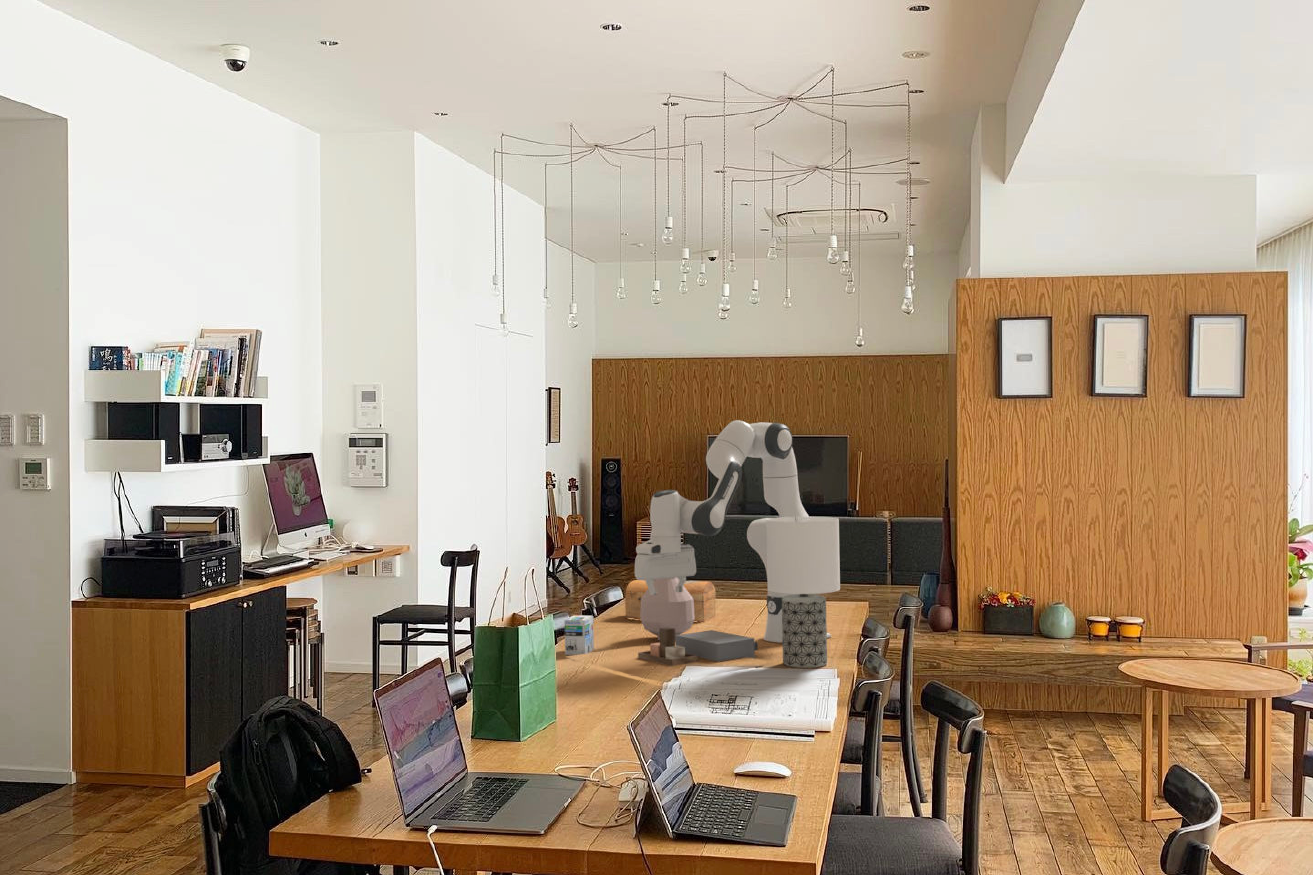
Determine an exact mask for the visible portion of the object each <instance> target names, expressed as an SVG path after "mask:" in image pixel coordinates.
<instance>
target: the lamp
mask: <svg viewBox="0 0 1313 875" xmlns="http://www.w3.org/2000/svg"><path fill="white" fill-rule="evenodd" d="M768 518H769V519H766V529H767V572H766V580H767V591H768V590H769V591H772V592H777V593H788V594H791V595H786V596H785V597H783V598H782V636H783V643H782V664H783V665H784V666H786V667H789V668H794V669H795V668H796V669H815V668H816V669H817V668H822V667H825V666H826V665H827V663H828V641H827V640H828V638H827V633H828V630H827V629H828V628H827V598H826V597H824V596H823V595H821V594H828V593H834V592H838V591H840V590H841V573H840V572H841V570H840V567H841V565H840V564H841V563H840V562H841V560H840V522H839V520H840V519H839V518H838V517H830V516H809V517H780V516H779V517H768Z"/></svg>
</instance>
